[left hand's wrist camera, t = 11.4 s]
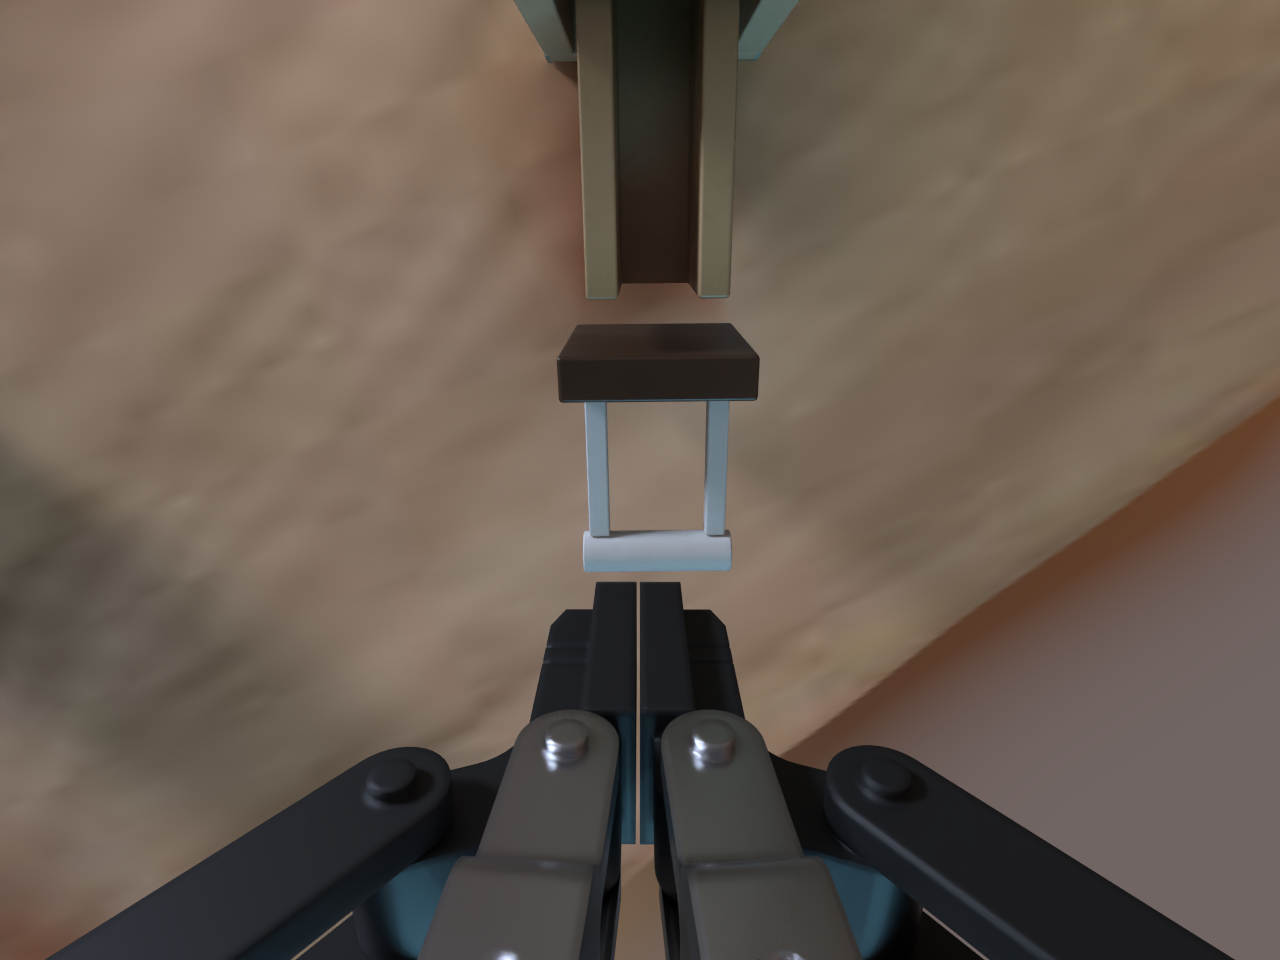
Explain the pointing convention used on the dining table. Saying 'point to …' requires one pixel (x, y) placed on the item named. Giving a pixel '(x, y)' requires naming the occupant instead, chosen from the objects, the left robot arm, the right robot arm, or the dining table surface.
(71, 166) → the dining table surface
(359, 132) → the dining table surface
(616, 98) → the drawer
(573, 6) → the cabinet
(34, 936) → the dining table surface
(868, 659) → the dining table surface
